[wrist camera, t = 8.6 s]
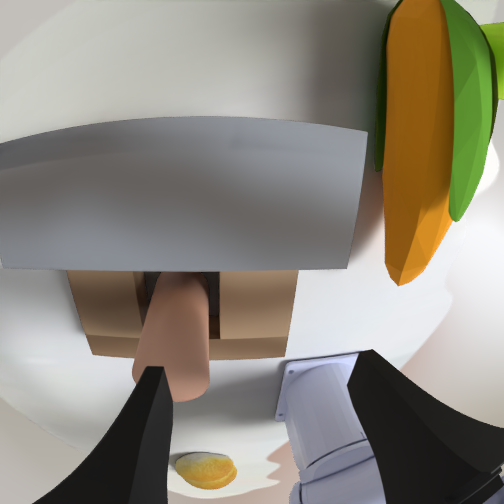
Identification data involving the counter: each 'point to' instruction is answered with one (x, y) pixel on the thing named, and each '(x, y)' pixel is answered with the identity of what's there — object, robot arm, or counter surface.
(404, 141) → the corn
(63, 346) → the counter surface
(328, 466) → the robot arm
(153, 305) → the peg
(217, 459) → the bread roll
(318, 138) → the socket station
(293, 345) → the counter surface
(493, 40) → the soap dispenser
